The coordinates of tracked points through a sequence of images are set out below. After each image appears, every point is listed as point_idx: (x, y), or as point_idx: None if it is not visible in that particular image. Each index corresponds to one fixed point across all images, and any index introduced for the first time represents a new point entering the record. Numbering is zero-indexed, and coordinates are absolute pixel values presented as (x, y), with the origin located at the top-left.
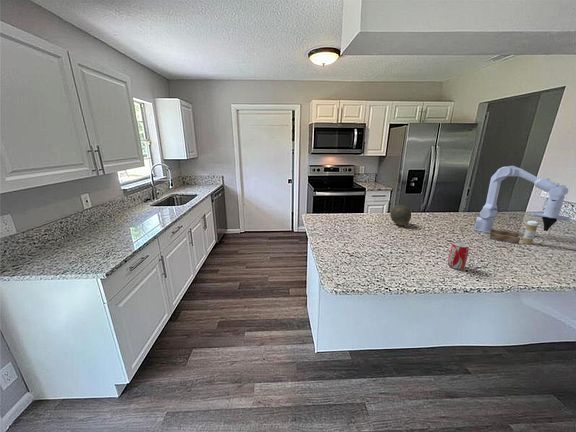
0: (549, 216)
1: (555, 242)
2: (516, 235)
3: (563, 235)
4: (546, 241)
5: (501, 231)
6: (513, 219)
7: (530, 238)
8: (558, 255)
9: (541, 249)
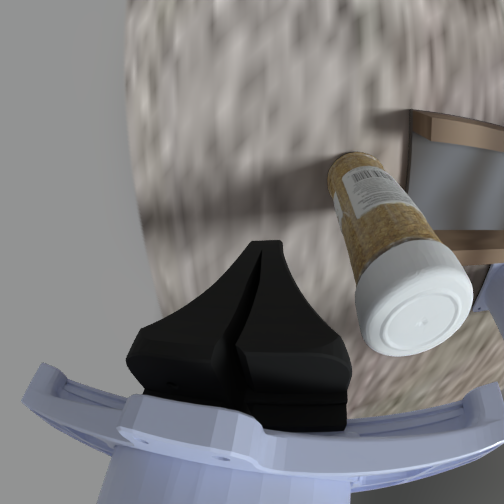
0: (242, 453)
1: None
2: None
3: None
4: None
5: (492, 247)
6: None
7: (360, 169)
8: (179, 35)
9: (273, 84)
